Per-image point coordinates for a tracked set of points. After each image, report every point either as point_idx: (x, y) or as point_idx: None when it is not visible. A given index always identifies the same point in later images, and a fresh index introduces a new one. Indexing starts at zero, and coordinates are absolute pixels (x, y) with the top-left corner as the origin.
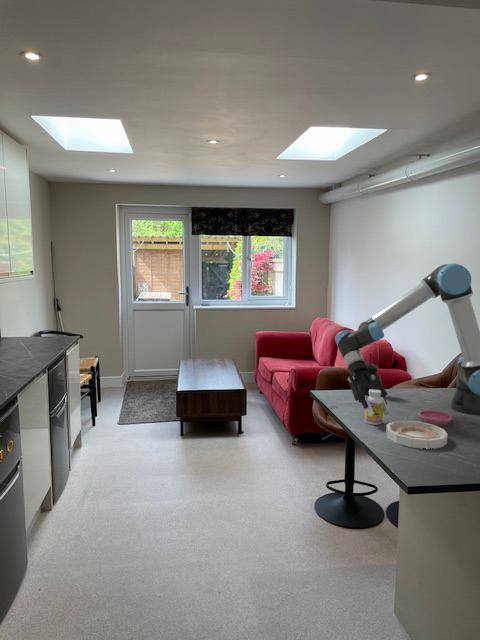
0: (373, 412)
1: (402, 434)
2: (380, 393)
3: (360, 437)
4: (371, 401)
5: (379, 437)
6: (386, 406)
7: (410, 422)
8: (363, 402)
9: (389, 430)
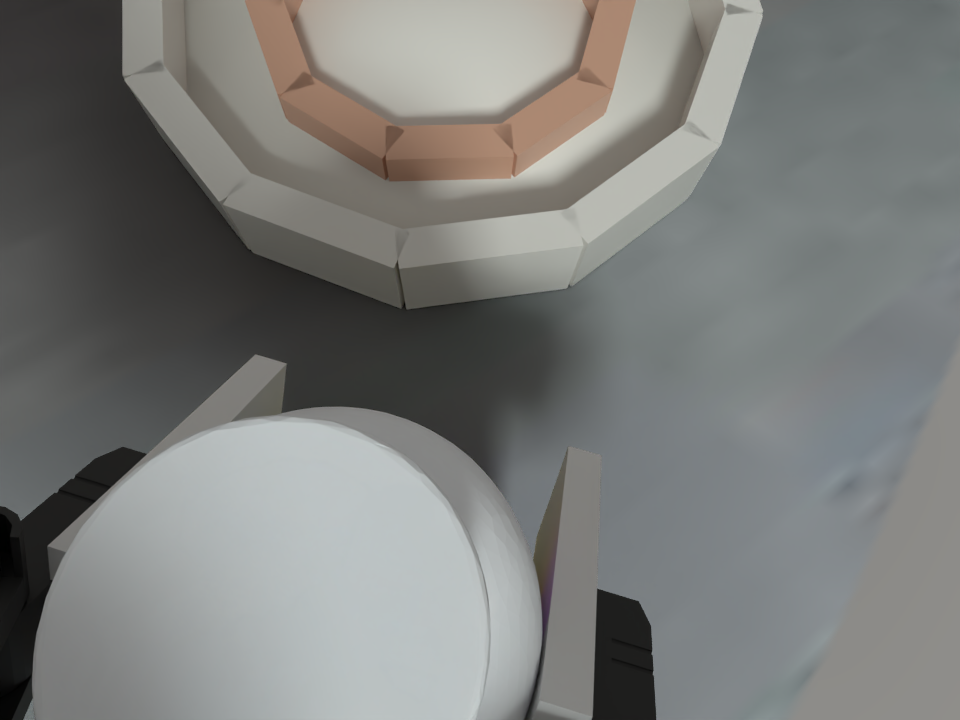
0: (576, 460)
1: (623, 45)
2: (265, 426)
3: (942, 365)
4: (531, 557)
5: (752, 248)
6: (227, 407)
7: (225, 142)
8: (649, 711)
9: (725, 118)
